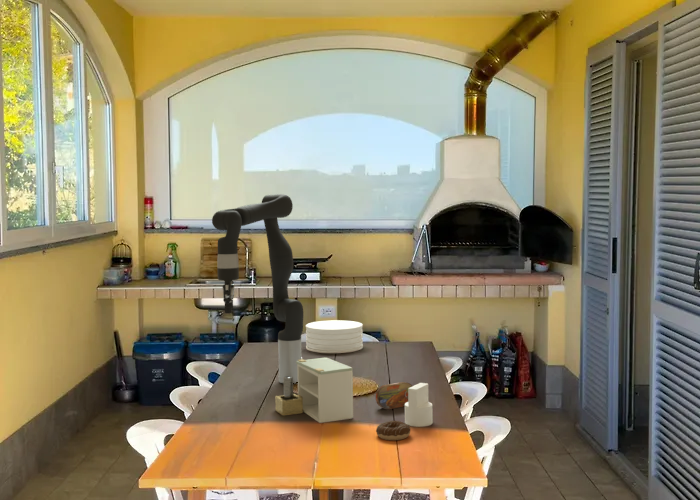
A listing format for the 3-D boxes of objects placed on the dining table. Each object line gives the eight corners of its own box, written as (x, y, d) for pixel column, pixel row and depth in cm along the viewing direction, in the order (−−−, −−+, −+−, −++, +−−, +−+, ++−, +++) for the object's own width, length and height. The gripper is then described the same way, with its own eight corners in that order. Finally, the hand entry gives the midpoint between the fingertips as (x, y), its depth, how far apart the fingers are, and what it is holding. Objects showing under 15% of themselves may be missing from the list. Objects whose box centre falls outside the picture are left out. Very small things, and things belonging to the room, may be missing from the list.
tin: (378, 411, 260) (378, 386, 259) (374, 408, 263) (374, 384, 262) (415, 405, 267) (415, 381, 266) (411, 403, 270) (410, 379, 269)
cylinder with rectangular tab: (424, 428, 240) (424, 390, 239) (399, 424, 244) (399, 387, 244) (437, 420, 247) (437, 384, 246) (412, 417, 252) (412, 381, 251)
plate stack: (304, 343, 386) (304, 321, 385) (359, 341, 389) (358, 319, 388) (307, 354, 358) (307, 330, 357) (366, 352, 361) (366, 328, 360)
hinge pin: (291, 410, 262) (290, 375, 261) (294, 412, 259) (294, 377, 259) (282, 411, 261) (282, 376, 260) (285, 413, 258) (285, 378, 257)
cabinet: (330, 403, 270) (329, 356, 269) (354, 418, 251) (353, 367, 250) (296, 408, 264) (295, 359, 263) (318, 423, 246) (317, 371, 245)
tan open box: (297, 407, 265) (297, 393, 265) (304, 412, 259) (304, 398, 258) (275, 410, 262) (275, 396, 262) (282, 415, 255) (282, 401, 255)
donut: (415, 440, 228) (415, 427, 228) (382, 443, 225) (382, 430, 225) (403, 430, 238) (403, 417, 238) (371, 433, 235) (371, 420, 235)
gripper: (237, 268, 263) (238, 314, 264) (239, 264, 277) (240, 308, 278) (215, 268, 263) (216, 314, 264) (219, 265, 277) (220, 309, 278)
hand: (229, 311), depth 271 cm, fingers open, 8 cm apart
